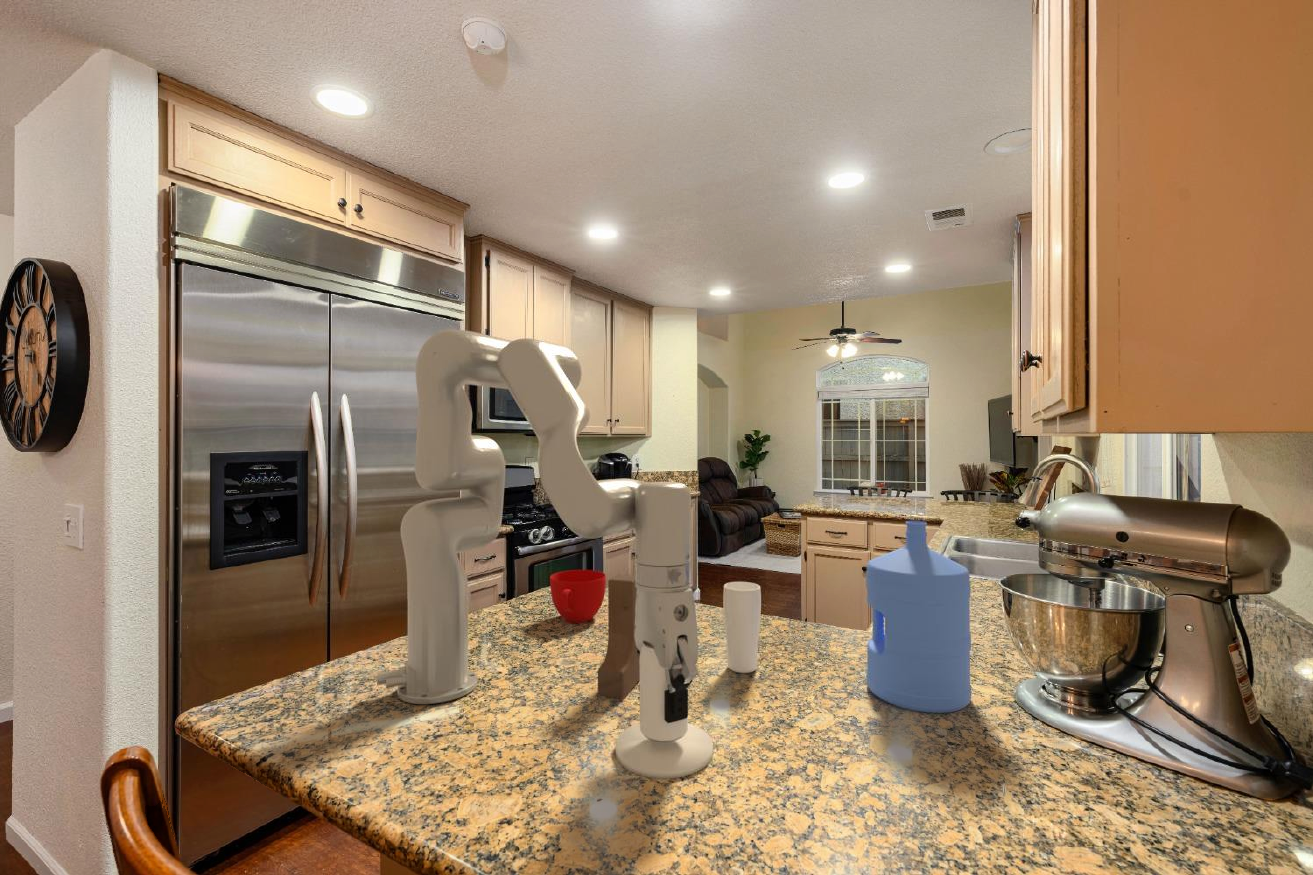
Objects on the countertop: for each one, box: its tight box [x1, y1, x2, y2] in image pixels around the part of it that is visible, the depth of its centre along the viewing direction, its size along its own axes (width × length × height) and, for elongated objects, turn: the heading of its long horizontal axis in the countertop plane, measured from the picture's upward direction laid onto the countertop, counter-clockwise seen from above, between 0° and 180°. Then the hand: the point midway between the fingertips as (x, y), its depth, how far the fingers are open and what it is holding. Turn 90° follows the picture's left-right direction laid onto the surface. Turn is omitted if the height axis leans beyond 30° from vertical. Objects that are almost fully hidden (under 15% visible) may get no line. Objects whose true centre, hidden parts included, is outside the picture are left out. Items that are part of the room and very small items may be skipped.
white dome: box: [615, 722, 714, 779], centre depth 78 cm, size 13×13×1 cm
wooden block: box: [597, 573, 640, 700], centre depth 98 cm, size 9×4×18 cm, turn 162°
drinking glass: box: [722, 581, 762, 674], centre depth 106 cm, size 7×7×15 cm
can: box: [639, 641, 689, 742], centre depth 78 cm, size 6×6×12 cm
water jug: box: [865, 520, 972, 714], centre depth 96 cm, size 16×16×28 cm
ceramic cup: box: [549, 569, 607, 624], centre depth 135 cm, size 13×17×10 cm
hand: (663, 707), depth 78 cm, fingers closed on can, 6 cm apart
